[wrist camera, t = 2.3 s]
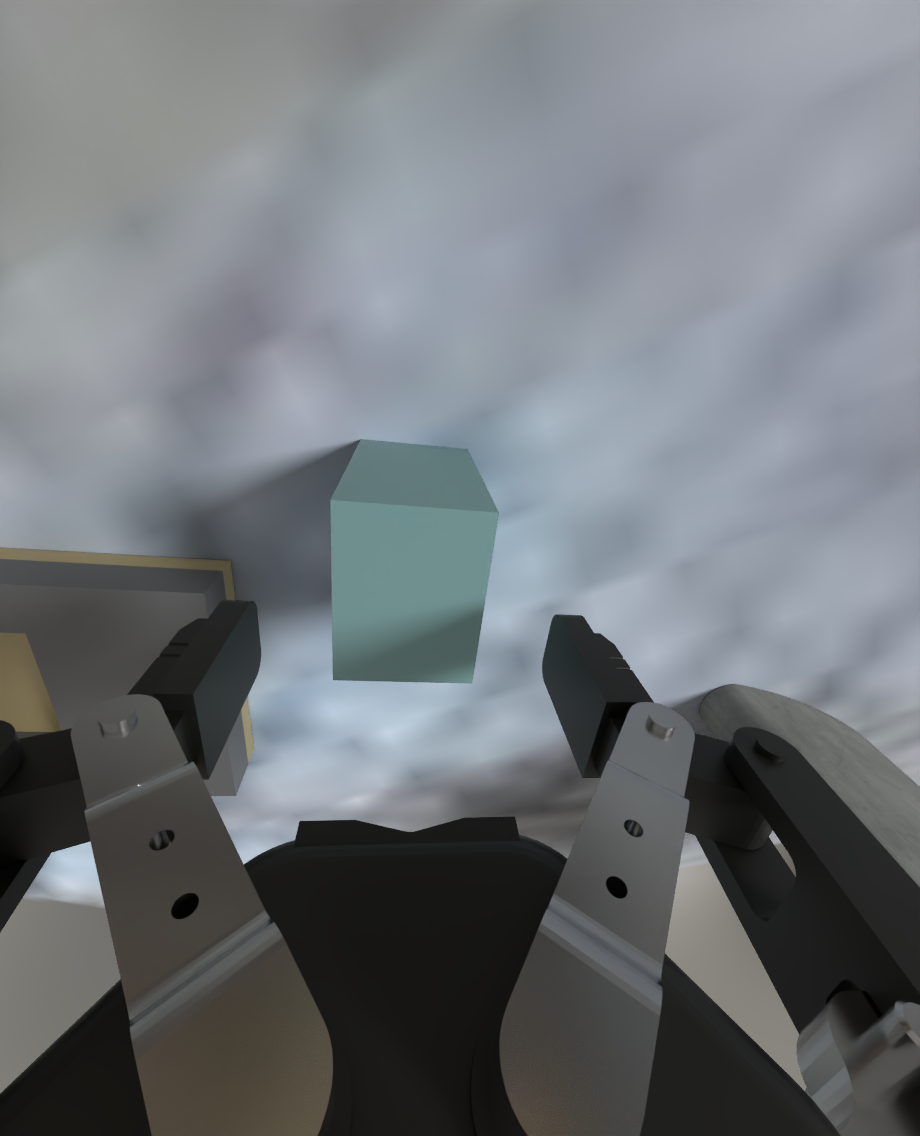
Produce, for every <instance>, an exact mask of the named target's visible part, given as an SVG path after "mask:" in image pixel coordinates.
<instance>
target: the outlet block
mask: <svg viewBox="0 0 920 1136" xmlns="http://www.w3.org/2000/svg"><path fill="white" fill-rule="evenodd" d="M222 600H236V599H235V591H234V583H233V575H232V567H231V561H225V560H208V559H190V558H172V557H155V556H137V555H120V554H102V553H84V552H67V551H49V550H31V549H14V548H0V720H2V721H6V722H8V723H10V724H11V725H13V727H14V728H15V731H16V733H17V735H18V738H19V739H21V738H26V737H31V736H36V735H41V734H46V733H51V732H56V731H61V730H66V729H70V728H72V727H73V725H74V723H75V722H76V721H77V720H78V718H79V717H80V716H82V715H83V714H84V713H85V712H86V711H88V710H89V709H91V708H92V707H94V706H96V705H98V704H100V703H102V702H104V701H107V700H110V699H112V698H116V697H120V696H125V695H127V694H128V693H129V691H130V690H131V689H132V688H133V686H134V685H135V684H136V683H137V682H138V680H139V679H140V678H141V677H142V675H143V674H144V673H145V672H146V670H147V669H148V668H149V667H150V665H151V664H152V663H153V662H154V660H155V659H156V658H157V657H159V656H160V653H161V652H162V651H163V649H164V648H165V647H166V646H168V645H169V642H170V641H171V639H172V638H173V637H174V636H175V635H176V633H177V632H178V631H179V630H180V629H181V628H183V627H184V626H186V625H188V624H189V623H191V622H193V621H194V620H196V619H197V618H206V619H208V617H209V616H210V615H211V613H212V612H213V611H214V609H215V608H216V607H217V605H218V604H219V603H220V601H222ZM253 750H254V746H253V737H252V729H251V721H250V713H249V705H248V697H247V698H246V700H245V703H244V705H243V707H242V709H241V711H240V713H239V716H238V718H237V720H236V722H235V724H234V726H233V729H232V731H231V733H230V735H229V737H228V739H227V741H226V744H225V746H224V748H223V750H222V752H221V754H220V757H219V759H218V761H217V763H216V765H215V767H214V770H213V772H212V774H211V776H210V778H209V780H203V781H204V783H205V785H206V787H207V789H208V791H209V793H210V796H236V794H237V792H238V789H239V786H240V784H241V781H242V779H243V776H244V773H245V771H246V768H247V766H248V763H249V760H250V758H251V755H252V753H253Z"/></svg>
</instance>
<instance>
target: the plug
mask: <svg viewBox="0 0 920 1136" xmlns="http://www.w3.org/2000/svg"><path fill="white" fill-rule="evenodd" d="M498 515H499V512H498V510H497V508H496V506H495V504H494V502H493V500H492V498H491V496H490V494H489V492H488V490H487V488H486V486H485V483H484V481H483V479H482V477H481V475H480V473H479V471H478V469H477V467H476V465H475V463H474V461H473V459H472V457H471V455H470V453H469V451H468V449H461V448H450V447H439V446H428V445H418V444H407V443H396V442H385V441H375V440H364V439H361V440H360V442H359V444H358V446H357V448H356V450H355V452H354V454H353V456H352V458H351V460H350V462H349V464H348V466H347V468H346V470H345V472H344V474H343V476H342V478H341V480H340V482H339V484H338V486H337V488H336V490H335V492H334V494H333V496H332V498H331V499H330V517H331V582H332V648H333V680H352V681H393V682H435V683H472V681H473V675H474V668H475V662H476V655H477V649H478V643H479V636H480V630H481V624H482V617H483V611H484V604H485V598H486V592H487V585H488V579H489V573H490V566H491V560H492V553H493V547H494V541H495V534H496V528H497V521H498Z"/></svg>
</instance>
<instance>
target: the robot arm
mask: <svg viewBox="0 0 920 1136" xmlns="http://www.w3.org/2000/svg"><path fill="white" fill-rule="evenodd" d="M260 661H261V646H260V636H259V625H258V615H257V607H256V604H255V602H254V601H239V600H222V601H220V603H219V604H218V605H217V607H216V608H215V609H214V611H213V612H212V613H211V615H210V616H209V617H208V619H206V618H197V619H196V620H194V621H193V622H191V623H189V624H188V625H186V626H184V627H183V628H181V629H180V630H179V631H178V632H177V633H176V635H175V636H174V637H173V638H172V639H171V641H170V642H169V645H168V646H166V647H165V648H164V649H163V651H162V652H161V653H160V656H159V657H157V658H156V659H155V660H154V662H153V663H152V664H151V665H150V667H149V668H148V669H147V670H146V672H145V673H144V674H143V675H142V677H141V678H140V679H139V680H138V682H137V683H136V684H135V685H134V686H133V688H132V689H131V690H130V691H129V693H128V694H127V695H125V696H120V697H116V698H112V699H110V700H107V701H104V702H102V703H100V704H98V705H96V706H94V707H92V708H91V709H89V710H88V711H86V712H85V713H84V714H83V715H82V716H80V717H79V718H78V720H77V721H76V722H75V723H74V725H73V727H72V728H70V729H66V730H61V731H56V732H51V733H46V734H41V735H36V736H31V737H26V738H21V739H19V738H18V735H17V733H16V731H15V728H14V727H13V725H11V724H10V723H8V722H6V721H2V720H0V932H1V930H2V929H3V927H4V926H5V924H6V923H7V921H8V919H9V918H10V916H11V915H12V913H13V912H14V910H15V909H16V907H17V905H18V904H19V902H20V901H21V899H22V898H23V896H24V894H25V893H26V891H27V890H28V888H29V887H30V885H31V884H32V882H33V880H34V879H35V877H36V876H37V874H38V873H39V871H40V869H41V868H42V866H43V865H44V863H45V862H46V860H47V859H48V857H49V855H50V854H51V852H55V851H58V850H62V849H65V848H69V847H72V846H76V845H79V844H83V843H86V842H90V841H91V845H92V850H93V854H94V859H95V863H96V868H97V873H98V877H99V882H100V886H101V891H102V895H103V900H104V904H105V909H106V914H107V918H108V923H109V927H110V932H111V936H112V941H113V945H114V950H115V954H116V959H117V964H118V968H119V973H120V977H121V979H120V980H119V981H118V982H117V983H116V984H115V985H114V986H113V987H112V988H111V989H110V990H109V991H108V992H107V993H105V995H103V996H102V998H100V999H99V1000H98V1001H97V1002H96V1003H95V1004H94V1005H93V1006H92V1007H91V1008H90V1009H89V1010H88V1011H87V1012H86V1013H84V1014H83V1015H82V1016H81V1017H80V1018H79V1019H78V1020H77V1021H76V1022H75V1023H74V1024H73V1025H72V1026H71V1027H70V1028H69V1029H68V1030H67V1031H66V1032H65V1033H64V1034H62V1035H61V1036H60V1037H59V1038H58V1039H57V1040H56V1041H55V1042H54V1043H53V1044H52V1045H51V1046H50V1047H49V1048H48V1049H47V1050H46V1051H45V1052H44V1053H42V1054H41V1055H40V1056H39V1057H38V1058H37V1059H36V1060H35V1061H34V1062H33V1063H32V1064H31V1065H30V1066H29V1067H28V1068H27V1069H26V1070H25V1071H24V1072H23V1073H21V1075H19V1076H18V1077H17V1078H16V1079H15V1080H14V1081H13V1082H12V1083H11V1084H10V1085H9V1086H8V1087H7V1088H6V1089H5V1090H4V1091H3V1092H2V1093H1V1094H0V1136H920V887H919V886H918V885H917V884H916V883H915V881H914V880H913V879H912V878H911V877H910V876H909V875H908V874H907V872H906V871H905V870H904V869H903V868H902V867H901V866H900V865H899V863H898V862H897V861H896V860H895V859H894V858H893V857H892V856H891V854H890V853H889V852H888V851H887V850H886V849H885V848H884V847H883V845H882V844H881V843H880V842H879V841H878V840H877V839H876V838H875V836H874V835H873V834H872V833H871V832H870V831H869V830H868V829H867V827H866V826H865V825H864V824H863V823H862V822H861V821H860V820H859V818H858V817H857V816H856V815H855V814H854V813H853V812H852V811H851V809H850V808H849V807H848V806H847V805H846V804H845V803H844V802H843V800H842V799H841V798H840V797H839V796H838V795H837V794H836V793H835V791H834V790H833V789H832V788H831V787H830V786H829V785H828V784H827V782H826V781H825V780H824V779H823V778H822V777H821V776H820V775H819V773H818V772H817V771H816V770H815V769H814V768H813V767H812V766H811V764H810V763H809V762H808V761H807V760H806V759H805V758H804V757H803V755H802V754H801V753H800V752H799V751H798V750H797V749H796V748H795V747H794V746H792V745H791V744H790V743H789V742H787V741H786V740H784V739H783V738H781V737H779V736H777V735H775V734H773V733H771V732H769V731H766V730H763V729H760V728H755V727H742V728H739V729H737V730H736V731H735V732H734V734H733V736H732V738H731V740H730V742H727V741H723V740H719V739H715V738H711V737H707V736H703V735H699V734H696V733H694V731H693V728H692V727H691V725H690V724H689V722H688V721H687V720H686V719H685V718H684V717H682V716H681V715H680V714H679V713H677V712H676V711H674V710H672V709H670V708H668V707H666V706H663V705H661V704H657V703H654V702H653V700H652V699H651V698H650V696H649V695H648V693H647V692H646V690H645V689H644V687H643V686H642V684H641V683H640V681H639V680H638V678H637V677H636V676H635V674H634V673H633V671H632V670H630V667H629V665H628V664H627V662H626V661H625V660H623V656H622V655H621V654H620V652H619V651H618V649H617V648H616V646H615V645H614V644H613V643H612V642H610V641H609V640H608V639H606V638H605V637H604V636H603V635H601V634H597V633H594V632H593V631H592V629H591V628H590V626H589V625H588V623H587V621H586V620H585V618H584V617H583V616H581V615H555V616H554V617H553V619H552V622H551V626H550V631H549V635H548V639H547V644H546V648H545V653H544V657H543V663H542V673H543V679H544V683H545V685H546V688H547V690H548V693H549V695H550V698H551V700H552V703H553V705H554V708H555V710H556V713H557V715H558V718H559V720H560V723H561V725H562V728H563V730H564V733H565V735H566V738H567V740H568V743H569V745H570V748H571V750H572V753H573V755H574V758H575V760H576V763H577V765H578V768H579V770H580V773H581V775H582V778H600V780H599V783H598V785H597V788H596V790H595V793H594V795H593V798H592V800H591V803H590V805H589V808H588V810H587V812H586V815H585V817H584V820H583V822H582V825H581V827H580V830H579V832H578V835H577V837H576V840H575V842H574V845H573V847H572V849H571V852H570V854H569V857H568V859H567V858H565V857H564V856H563V855H562V854H560V853H559V852H557V851H555V850H554V849H552V848H551V847H549V846H547V845H545V844H543V843H541V842H539V841H537V840H534V839H531V838H528V837H526V836H522V835H519V833H518V829H517V824H516V820H515V817H479V818H462V819H458V820H455V821H451V822H448V823H444V824H441V825H437V826H433V827H430V828H426V829H423V830H419V831H415V832H405V831H400V830H396V829H392V828H387V827H383V826H379V825H374V824H370V823H366V822H361V821H357V820H333V821H300V822H299V826H298V831H297V835H296V839H295V840H294V841H291V842H287V843H284V844H282V845H279V846H277V847H274V848H272V849H270V850H268V851H266V852H264V853H262V854H260V855H258V856H256V857H255V858H253V859H252V860H250V861H249V862H247V863H245V864H244V865H243V863H242V860H241V858H240V856H239V854H238V852H237V850H236V848H235V846H234V844H233V842H232V840H231V837H230V835H229V833H228V831H227V829H226V827H225V825H224V823H223V821H222V819H221V816H220V814H219V812H218V810H217V808H216V806H215V804H214V802H213V800H212V798H211V796H210V793H209V791H208V789H207V787H206V785H205V783H204V781H203V780H209V778H210V776H211V774H212V772H213V770H214V767H215V765H216V763H217V761H218V759H219V757H220V754H221V752H222V750H223V748H224V746H225V744H226V741H227V739H228V737H229V735H230V733H231V731H232V729H233V726H234V724H235V722H236V720H237V718H238V716H239V713H240V711H241V709H242V707H243V705H244V703H245V700H246V698H247V696H248V694H249V692H250V690H251V687H252V685H253V683H254V681H255V679H256V677H257V674H258V671H259V667H260ZM772 830H773V831H774V832H775V834H776V835H777V837H778V838H779V840H780V841H781V843H782V844H783V845H784V847H785V848H786V850H787V851H788V853H789V854H790V856H791V858H792V860H793V863H794V865H795V869H796V877H795V876H794V874H793V873H792V871H791V870H790V868H789V867H788V865H787V864H786V862H785V861H784V859H783V858H782V856H781V855H780V853H779V852H778V850H777V849H776V847H775V846H774V844H773V843H772V841H771V840H770V838H769V835H770V834H771V832H772ZM685 832H687V833H690V834H694V835H695V836H696V838H697V840H698V841H699V843H700V845H701V847H702V849H703V851H704V853H705V855H706V857H707V859H708V861H709V863H710V864H711V866H712V868H713V870H714V872H715V874H716V876H717V878H718V880H719V881H720V883H721V885H722V887H723V889H724V891H725V893H726V895H727V897H728V899H729V901H730V903H731V904H732V907H733V908H734V910H735V912H736V914H737V916H738V918H739V920H740V922H741V924H742V926H743V927H744V929H745V931H746V933H747V935H748V937H749V939H750V941H751V943H752V945H753V947H754V949H755V950H756V952H757V954H758V956H759V958H760V960H761V962H762V964H763V966H764V968H765V969H766V972H767V974H768V975H769V977H770V979H771V981H772V983H773V985H774V987H775V989H776V991H777V993H778V995H779V996H780V998H781V1000H782V1002H783V1004H784V1006H785V1008H786V1010H787V1012H788V1014H789V1016H790V1018H791V1019H792V1021H793V1023H794V1025H795V1027H796V1029H797V1031H798V1033H799V1037H798V1040H797V1059H798V1064H799V1068H800V1072H801V1074H802V1077H803V1080H804V1082H805V1085H806V1087H807V1088H806V1091H804V1090H803V1089H802V1088H801V1087H800V1086H799V1085H798V1084H797V1083H796V1082H795V1081H794V1080H793V1079H792V1078H791V1077H790V1076H789V1075H788V1074H787V1073H786V1072H785V1071H784V1070H783V1069H782V1068H781V1067H780V1066H779V1065H778V1064H777V1063H776V1062H775V1061H774V1060H773V1059H772V1058H771V1057H770V1056H769V1055H768V1054H767V1053H766V1052H765V1051H764V1050H763V1049H762V1048H761V1047H760V1046H759V1045H758V1044H757V1043H756V1042H755V1041H753V1040H752V1039H751V1038H750V1037H749V1036H748V1035H747V1034H746V1033H745V1032H744V1031H743V1030H742V1029H741V1028H740V1027H739V1026H738V1025H737V1024H736V1023H735V1022H734V1021H733V1020H732V1019H731V1018H730V1017H729V1016H728V1015H727V1014H726V1013H725V1012H724V1011H723V1010H722V1009H721V1008H720V1007H719V1006H718V1005H717V1004H716V1003H715V1002H714V1001H713V1000H712V999H711V998H710V997H708V995H707V994H706V993H704V991H703V990H702V989H701V988H699V986H698V985H697V984H695V983H694V982H693V981H692V980H691V979H690V978H689V977H688V976H687V975H686V974H685V973H684V972H683V971H682V970H681V969H680V968H679V967H678V966H677V965H676V964H675V963H674V962H673V961H672V960H671V959H670V958H669V957H668V956H667V955H666V954H665V948H666V942H667V936H668V930H669V923H670V918H671V912H672V906H673V900H674V894H675V888H676V882H677V876H678V870H679V864H680V858H681V852H682V846H683V840H684V834H685Z"/></svg>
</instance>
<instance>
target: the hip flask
mask: <svg viewBox="0 0 920 1136" xmlns="http://www.w3.org/2000/svg"><path fill="white" fill-rule="evenodd" d="M700 716H701V717H702V719H703V720H704V722H705V723H706V724H707V725H708V727H709V728H710V729H711V731H712V732H713V733H714V735H715V736H716V737H717V739H719V740H723V741H727V742H730V740H731V738H732V736H733V734H734V732H735V731H736V730H737V729H739V728H742V727H755V728H760V729H763V730H766V731H769V732H771V733H773V734H775V735H777V736H779V737H781V738H783V739H784V740H786V741H787V742H789V743H790V744H791V745H792V746H794V747H795V748H796V749H797V750H798V751H799V752H800V753H801V754H802V755H803V757H804V758H805V759H806V760H807V761H808V762H809V763H810V764H811V766H812V767H813V768H814V769H815V770H816V771H817V772H818V773H819V775H820V776H821V777H822V778H823V779H824V780H825V781H826V782H827V784H828V785H829V786H830V787H831V788H832V789H833V790H834V791H835V793H836V794H837V795H838V796H839V797H840V798H841V799H842V800H843V802H844V803H845V804H846V805H847V806H848V807H849V808H850V809H851V811H852V812H853V813H854V814H855V815H856V816H857V817H858V818H859V820H860V821H861V822H862V823H863V824H864V825H865V826H866V827H867V829H868V830H869V831H870V832H871V833H872V834H873V835H874V836H875V838H876V839H877V840H878V841H879V842H880V843H881V844H882V845H883V847H884V848H885V849H886V850H887V851H888V852H889V853H890V854H891V856H892V857H893V858H894V859H895V860H896V861H897V862H898V863H899V865H900V866H901V867H902V868H903V869H904V870H905V871H906V872H907V874H908V875H909V876H910V877H911V878H912V879H913V880H914V881H915V883H916V884H917V885H918V886H919V887H920V786H918V785H917V784H916V783H915V782H914V781H913V780H912V779H911V778H909V777H908V776H907V775H906V774H905V773H904V772H903V771H902V770H900V769H899V768H898V767H897V766H896V765H895V764H894V763H893V762H891V761H890V760H889V759H888V758H887V757H886V756H885V755H884V754H882V753H881V752H880V751H879V750H878V749H877V748H876V747H874V746H873V745H872V744H871V743H870V742H869V741H868V740H867V739H865V738H864V737H863V736H862V735H860V734H859V733H858V732H856V731H855V730H853V729H852V728H851V727H849V726H847V725H846V724H844V723H843V722H841V721H839V720H837V719H836V718H834V717H832V716H830V715H828V714H826V713H824V712H822V711H820V710H818V709H815V708H813V707H811V706H809V705H806V704H804V703H801V702H799V701H796V700H794V699H791V698H788V697H785V696H782V695H778V694H775V693H772V692H768V691H764V690H760V689H756V688H752V687H747V686H742V685H736V684H732V685H725V686H722V687H719V688H717V689H715V690H713V691H712V692H711V693H709V694H708V695H707V696H706V697H705V699H704V700H703V701H702V703H701V706H700Z"/></svg>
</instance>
